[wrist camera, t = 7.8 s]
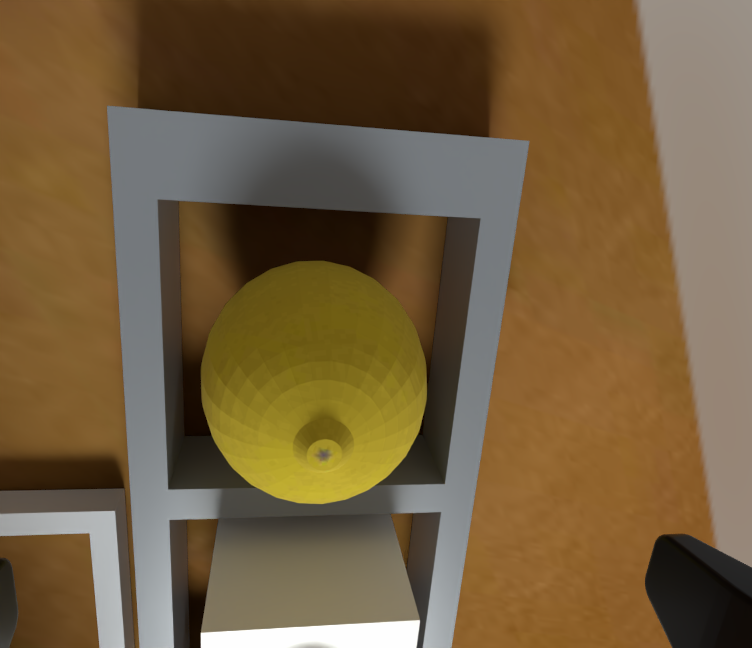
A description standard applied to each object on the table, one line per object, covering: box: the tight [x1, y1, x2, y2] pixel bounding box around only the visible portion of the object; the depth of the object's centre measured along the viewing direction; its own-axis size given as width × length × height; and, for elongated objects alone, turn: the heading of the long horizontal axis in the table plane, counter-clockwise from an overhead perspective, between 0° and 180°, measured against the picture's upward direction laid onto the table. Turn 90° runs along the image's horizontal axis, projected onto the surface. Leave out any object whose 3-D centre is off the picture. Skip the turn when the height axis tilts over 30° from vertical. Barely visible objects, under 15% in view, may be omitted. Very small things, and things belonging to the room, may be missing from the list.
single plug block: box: [201, 514, 420, 648], centre depth 18 cm, size 6×6×7 cm
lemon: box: [201, 261, 427, 504], centre depth 15 cm, size 6×6×8 cm
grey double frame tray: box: [107, 106, 529, 648], centre depth 19 cm, size 21×10×3 cm, turn 175°
